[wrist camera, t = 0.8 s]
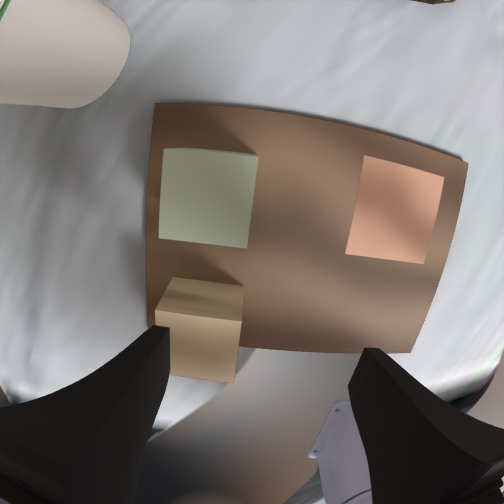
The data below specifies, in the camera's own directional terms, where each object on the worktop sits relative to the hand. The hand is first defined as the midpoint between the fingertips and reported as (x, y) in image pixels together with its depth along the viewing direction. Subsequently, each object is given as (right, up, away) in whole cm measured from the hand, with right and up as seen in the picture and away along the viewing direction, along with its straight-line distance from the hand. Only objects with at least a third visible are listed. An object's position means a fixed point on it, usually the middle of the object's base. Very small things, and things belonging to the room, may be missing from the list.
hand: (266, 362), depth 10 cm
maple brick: (-4, 0, +9) cm, 9 cm away
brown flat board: (+3, +4, +8) cm, 9 cm away
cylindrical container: (-11, +16, +3) cm, 20 cm away
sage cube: (-3, +8, +6) cm, 10 cm away
